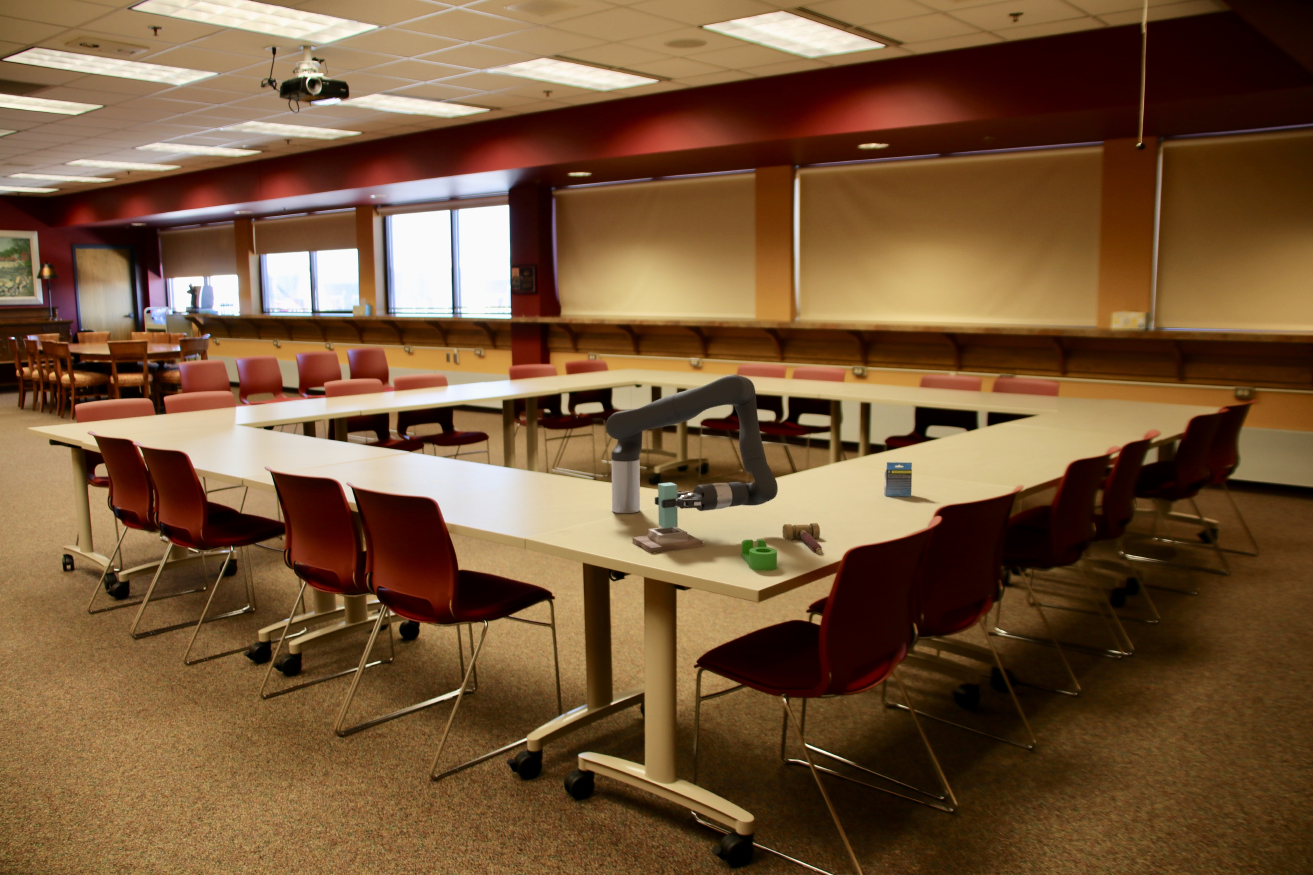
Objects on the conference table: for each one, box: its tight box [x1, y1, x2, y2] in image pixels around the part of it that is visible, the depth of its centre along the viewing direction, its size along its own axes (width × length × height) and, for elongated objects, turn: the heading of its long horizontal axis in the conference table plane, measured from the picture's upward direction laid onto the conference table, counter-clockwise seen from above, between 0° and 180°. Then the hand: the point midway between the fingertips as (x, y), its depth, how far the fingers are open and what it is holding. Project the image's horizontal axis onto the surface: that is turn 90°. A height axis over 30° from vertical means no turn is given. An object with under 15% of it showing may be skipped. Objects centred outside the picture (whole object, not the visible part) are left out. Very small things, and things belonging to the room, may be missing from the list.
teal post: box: [657, 482, 679, 528], centre depth 254 cm, size 4×4×12 cm
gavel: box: [782, 522, 823, 555], centre depth 254 cm, size 21×5×10 cm
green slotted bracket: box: [740, 538, 778, 572], centre depth 237 cm, size 15×7×5 cm, turn 7°
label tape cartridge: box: [883, 461, 913, 498], centre depth 319 cm, size 9×4×12 cm, turn 84°
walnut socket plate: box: [632, 526, 704, 554], centre depth 255 cm, size 13×16×4 cm
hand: (658, 502), depth 253 cm, fingers closed on teal post, 4 cm apart
